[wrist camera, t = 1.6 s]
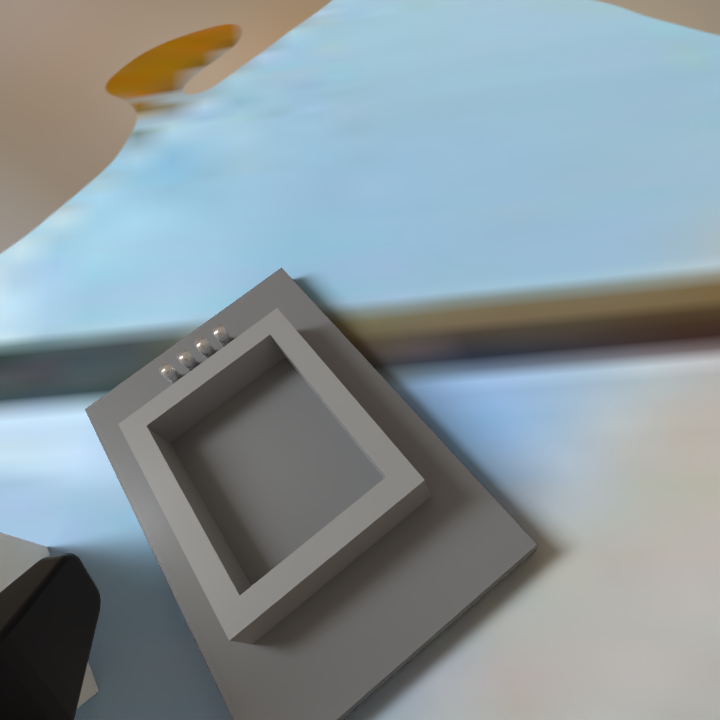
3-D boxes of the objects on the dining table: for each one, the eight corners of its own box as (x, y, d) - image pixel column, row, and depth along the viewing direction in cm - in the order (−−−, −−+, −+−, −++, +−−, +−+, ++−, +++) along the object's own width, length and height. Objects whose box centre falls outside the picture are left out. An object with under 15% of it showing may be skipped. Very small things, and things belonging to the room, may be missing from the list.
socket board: (274, 779, 19) (238, 793, 17) (97, 417, 29) (57, 391, 26) (535, 550, 21) (539, 531, 18) (287, 279, 30) (267, 242, 28)
